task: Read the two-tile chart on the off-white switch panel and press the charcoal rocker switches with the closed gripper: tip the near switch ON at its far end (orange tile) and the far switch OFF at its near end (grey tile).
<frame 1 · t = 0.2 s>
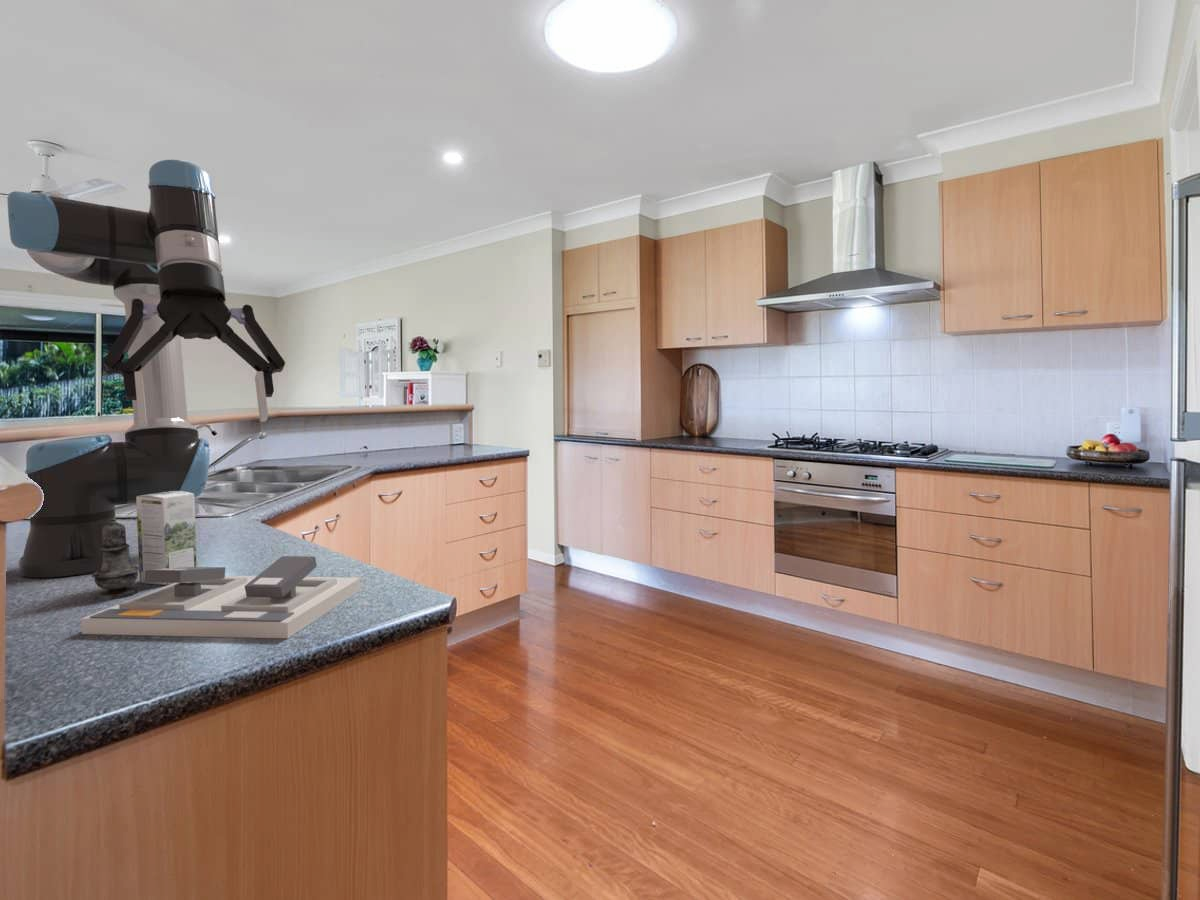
hand: (206, 421, 82), 27 cm above the countertop, tool tilted 15°, fingers open, 13 cm apart
grey tiered stone piece: (117, 595, 95), on the countertop
syrup box: (169, 581, 103), on the countertop
switch B: (282, 575, 86), point 5 cm above the countertop, hinge at 12.0°
switch A: (186, 574, 87), point 5 cm above the countertop, hinge at -12.0°
switch panel: (236, 609, 87), on the countertop
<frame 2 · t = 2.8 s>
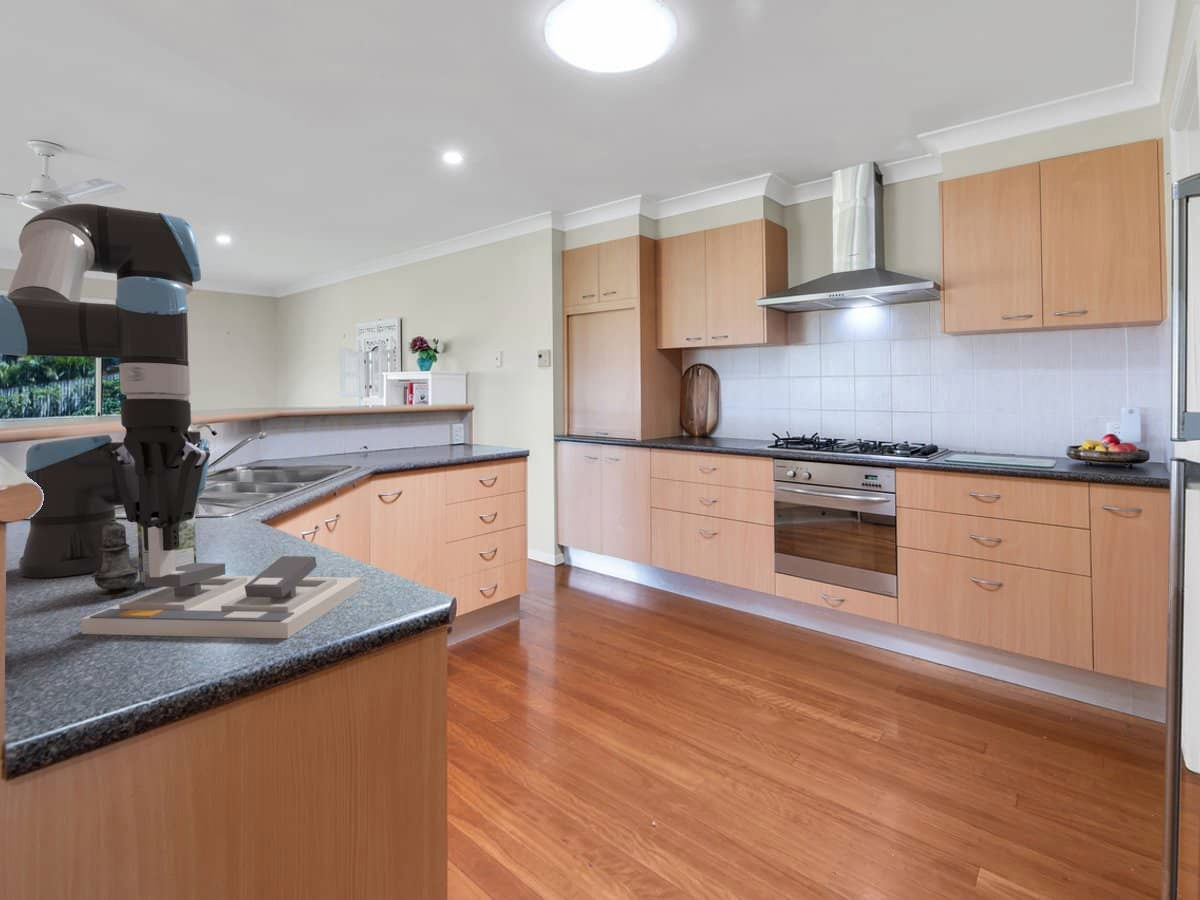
hand: (162, 574, 83), 6 cm above the countertop, tool pointing down, fingers closed
switch A: (186, 574, 87), point 5 cm above the countertop, hinge at -4.7°, touching gripper
everything else where it was.
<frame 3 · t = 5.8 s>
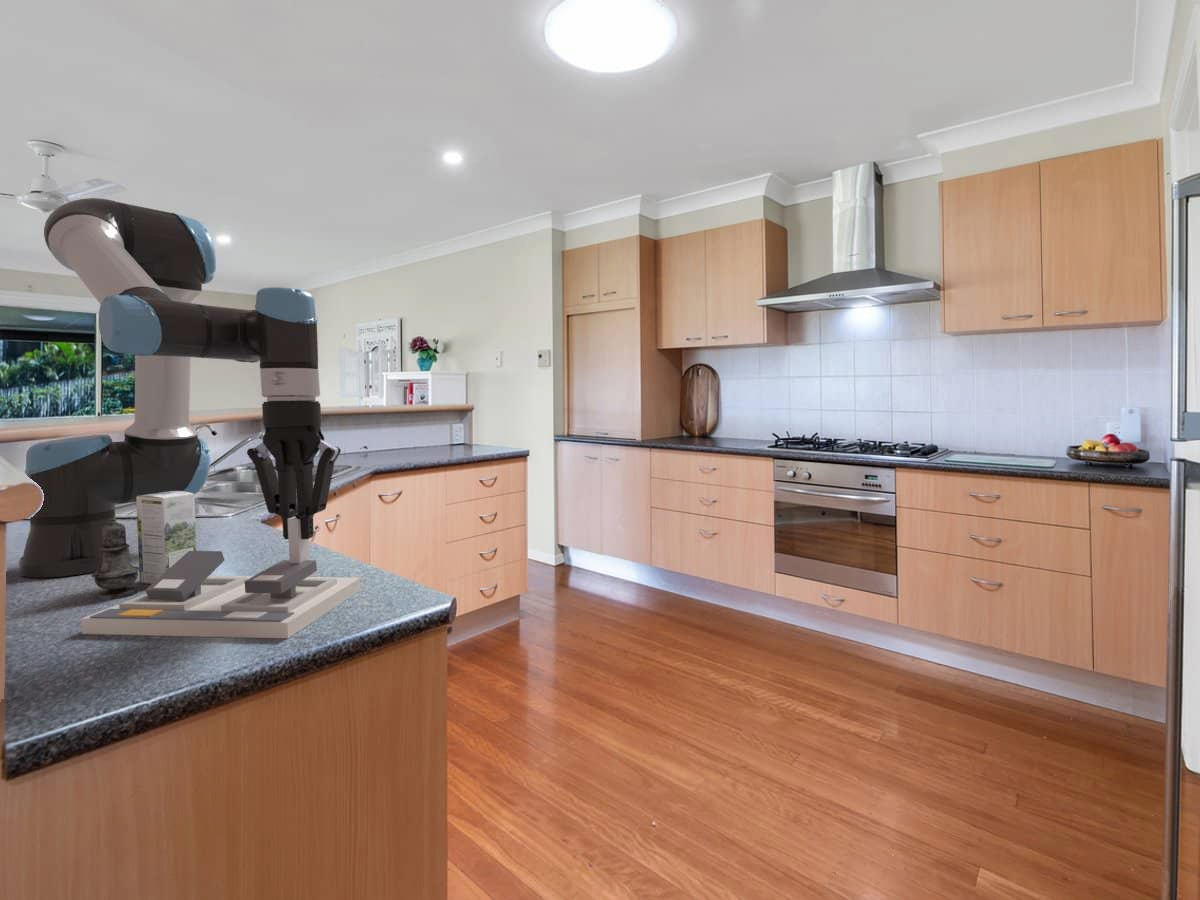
hand: (300, 560, 91), 6 cm above the countertop, tool pointing down, fingers closed
switch B: (282, 575, 86), point 5 cm above the countertop, hinge at 3.8°, touching gripper
switch A: (186, 574, 87), point 5 cm above the countertop, hinge at 22.1°
everything else where it was.
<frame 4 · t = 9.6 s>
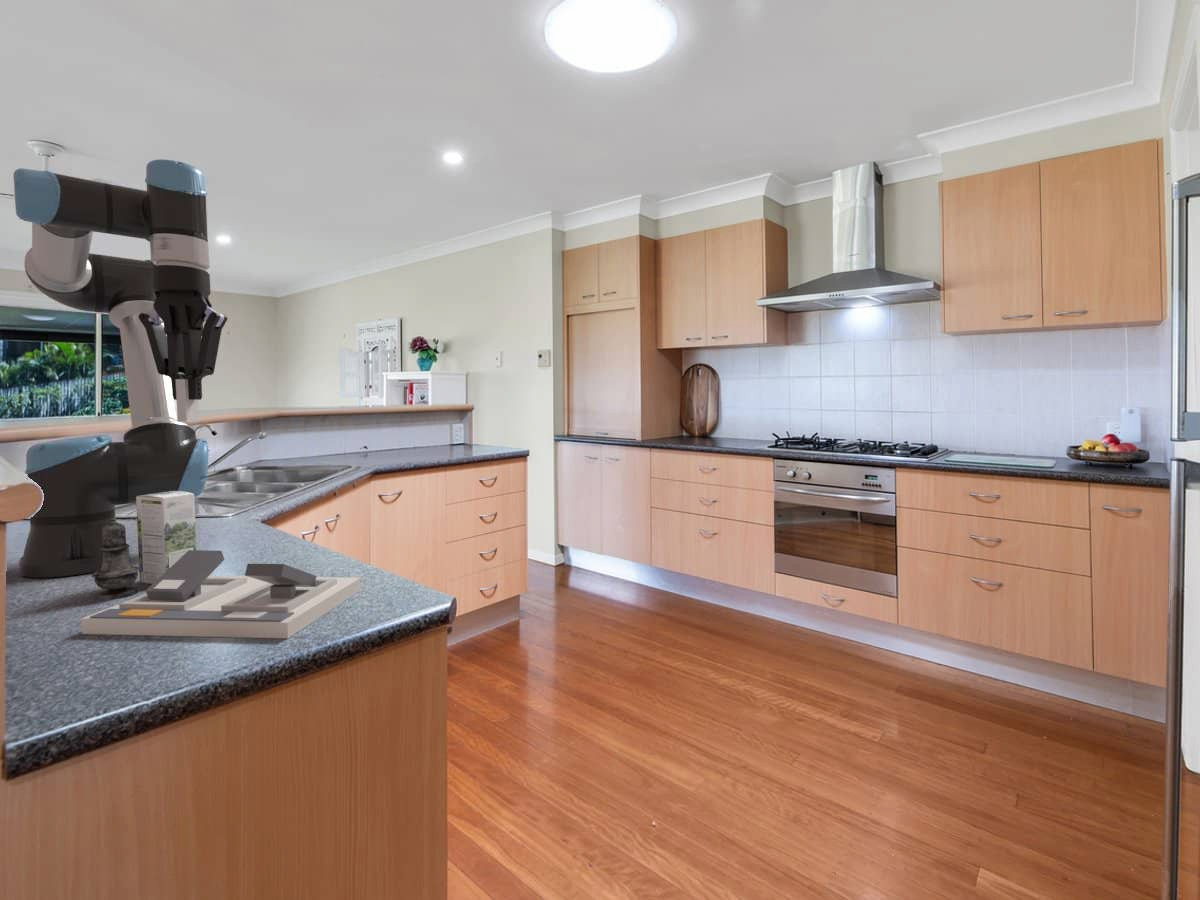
hand: (188, 420, 97), 26 cm above the countertop, tool pointing down, fingers closed
switch B: (282, 575, 87), point 5 cm above the countertop, hinge at -25.6°
switch A: (186, 574, 87), point 5 cm above the countertop, hinge at 23.5°
everything else where it was.
at the end: switch A at +24° (first picture: -12°); switch B at -26° (first picture: +12°) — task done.
